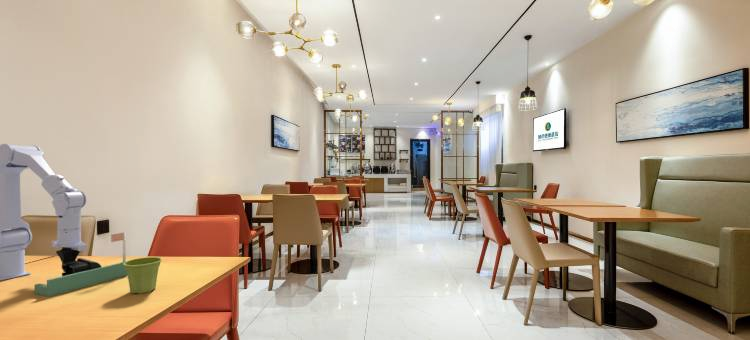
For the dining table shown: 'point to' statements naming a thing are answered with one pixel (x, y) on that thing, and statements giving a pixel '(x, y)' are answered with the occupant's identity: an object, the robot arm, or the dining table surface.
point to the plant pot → (142, 274)
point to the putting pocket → (85, 275)
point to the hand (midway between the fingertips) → (68, 271)
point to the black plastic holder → (79, 266)
